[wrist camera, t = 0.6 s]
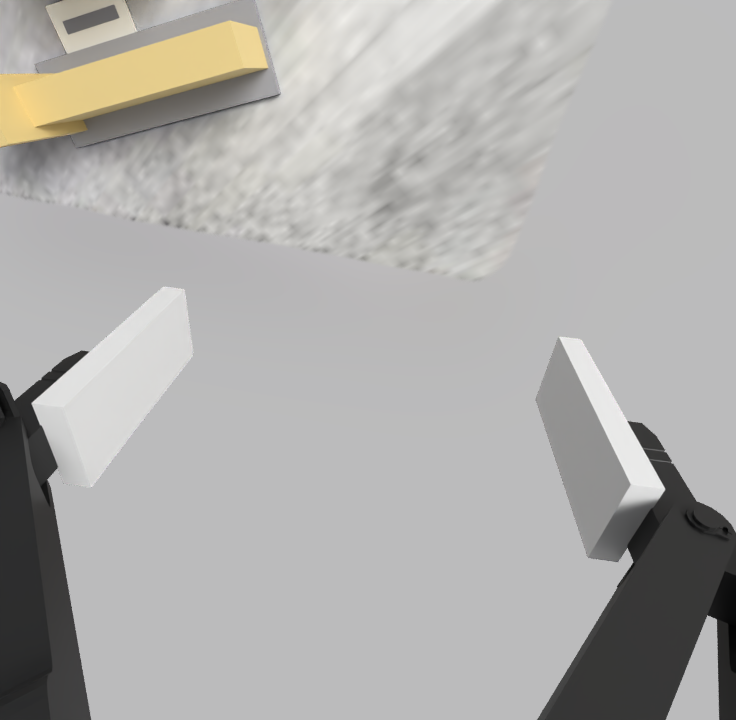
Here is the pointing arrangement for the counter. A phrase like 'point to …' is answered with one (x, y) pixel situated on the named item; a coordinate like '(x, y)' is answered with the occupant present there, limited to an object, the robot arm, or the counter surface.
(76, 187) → the counter surface
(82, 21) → the label
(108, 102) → the rail
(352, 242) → the counter surface
